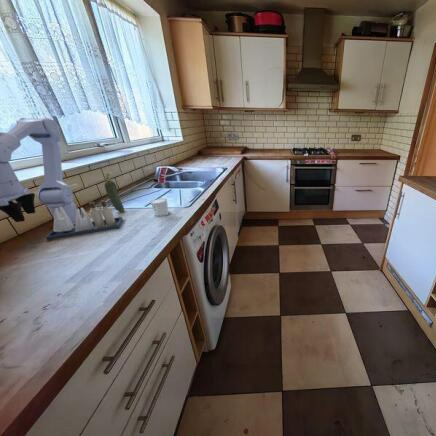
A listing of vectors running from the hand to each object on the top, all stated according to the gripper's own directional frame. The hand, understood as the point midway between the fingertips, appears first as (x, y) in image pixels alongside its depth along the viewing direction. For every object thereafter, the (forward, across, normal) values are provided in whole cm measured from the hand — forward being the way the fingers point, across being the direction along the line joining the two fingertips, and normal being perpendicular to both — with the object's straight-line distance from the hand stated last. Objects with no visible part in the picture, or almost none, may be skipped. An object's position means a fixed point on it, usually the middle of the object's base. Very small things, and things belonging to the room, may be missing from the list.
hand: (26, 217), depth 83 cm
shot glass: (+11, +8, -42) cm, 44 cm away
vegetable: (+11, +19, -23) cm, 32 cm away
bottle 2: (+10, +3, -23) cm, 25 cm away
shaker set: (+10, +3, -10) cm, 15 cm away
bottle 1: (+10, +3, -19) cm, 22 cm away
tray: (+10, +3, -14) cm, 18 cm away
